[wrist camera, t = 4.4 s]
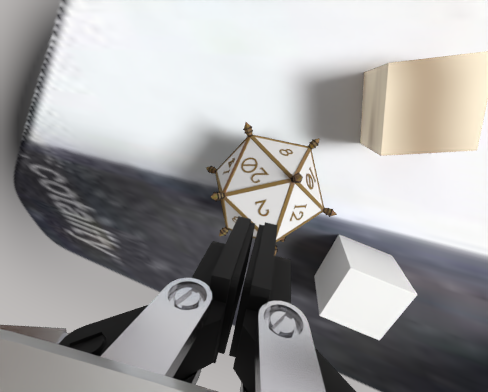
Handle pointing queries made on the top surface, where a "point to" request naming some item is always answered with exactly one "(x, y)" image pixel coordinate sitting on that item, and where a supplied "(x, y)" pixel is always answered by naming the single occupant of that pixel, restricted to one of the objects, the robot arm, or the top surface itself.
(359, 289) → the white block
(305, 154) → the game die
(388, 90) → the ash block
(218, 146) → the top surface
